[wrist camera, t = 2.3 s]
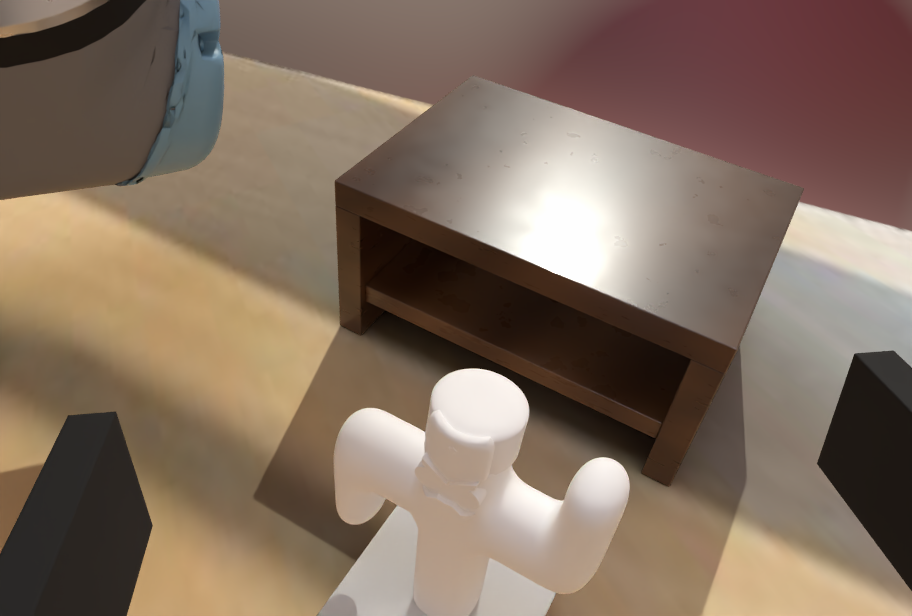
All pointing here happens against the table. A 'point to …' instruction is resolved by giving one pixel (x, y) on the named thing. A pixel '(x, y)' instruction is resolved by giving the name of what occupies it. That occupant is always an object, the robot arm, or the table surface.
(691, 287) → the shelf stand
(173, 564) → the table surface
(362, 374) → the table surface
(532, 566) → the figurine
